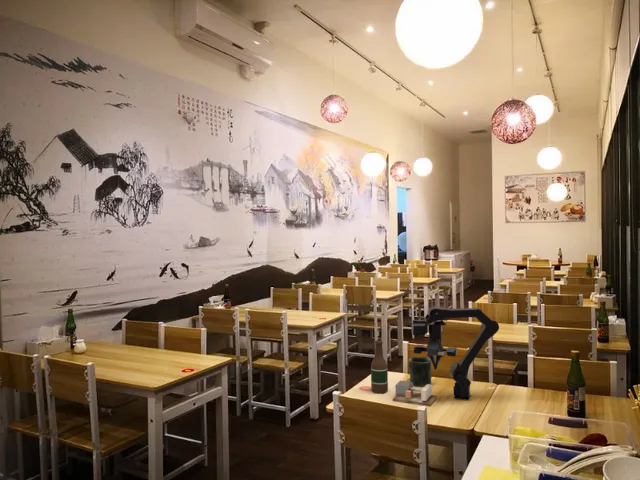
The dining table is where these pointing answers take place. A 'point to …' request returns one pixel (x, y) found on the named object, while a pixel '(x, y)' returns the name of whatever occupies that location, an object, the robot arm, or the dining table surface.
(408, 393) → the peach cube
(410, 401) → the base
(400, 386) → the notched steel block
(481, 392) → the dining table surface
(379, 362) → the beer bottle
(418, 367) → the mug
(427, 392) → the plunger
